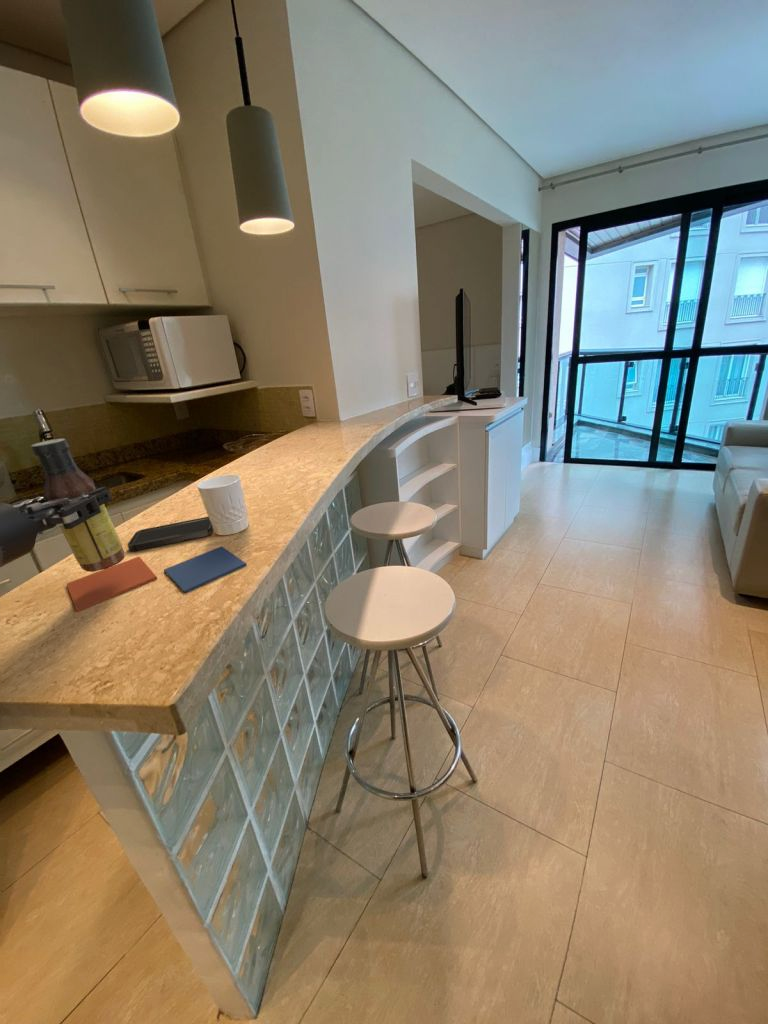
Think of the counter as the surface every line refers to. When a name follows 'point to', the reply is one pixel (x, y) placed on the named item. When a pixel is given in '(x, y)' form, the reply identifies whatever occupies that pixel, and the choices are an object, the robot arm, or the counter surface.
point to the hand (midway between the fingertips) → (88, 494)
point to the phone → (170, 533)
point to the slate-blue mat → (204, 568)
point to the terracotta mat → (109, 583)
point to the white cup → (224, 503)
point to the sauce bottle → (94, 536)
